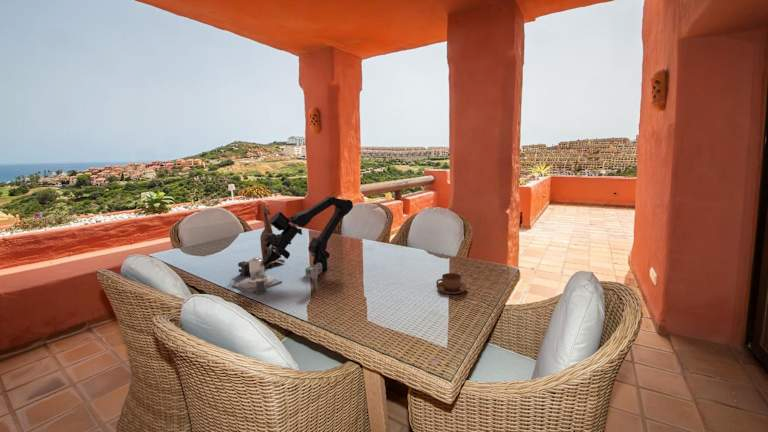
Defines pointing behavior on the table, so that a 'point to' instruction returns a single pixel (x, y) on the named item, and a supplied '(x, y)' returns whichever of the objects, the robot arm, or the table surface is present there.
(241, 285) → the turntable
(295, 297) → the table surface
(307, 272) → the mechanical component
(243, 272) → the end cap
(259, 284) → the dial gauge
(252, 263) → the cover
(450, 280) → the cup and saucer
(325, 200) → the robot arm
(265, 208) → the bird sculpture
